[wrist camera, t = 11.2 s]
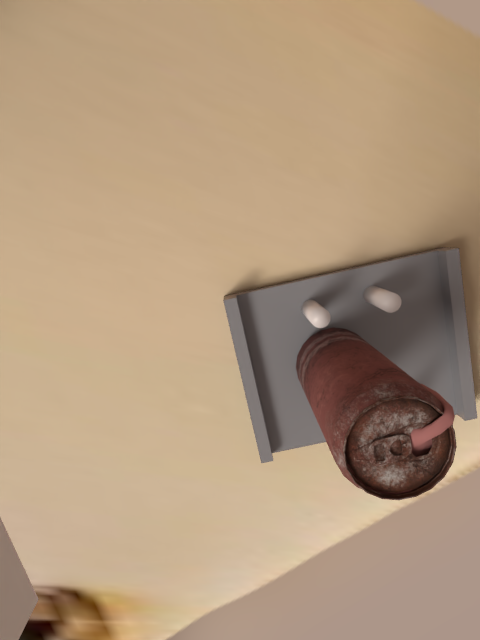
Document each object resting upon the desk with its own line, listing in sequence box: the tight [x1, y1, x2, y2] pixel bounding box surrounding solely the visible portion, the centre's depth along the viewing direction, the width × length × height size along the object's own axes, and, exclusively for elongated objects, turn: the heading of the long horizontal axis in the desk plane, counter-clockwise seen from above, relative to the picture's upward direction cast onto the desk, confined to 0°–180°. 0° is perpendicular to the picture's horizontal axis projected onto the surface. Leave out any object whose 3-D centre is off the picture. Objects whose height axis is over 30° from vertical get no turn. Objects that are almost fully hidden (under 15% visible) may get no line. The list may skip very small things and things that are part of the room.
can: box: [296, 328, 456, 500], centre depth 26 cm, size 6×6×14 cm
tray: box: [223, 247, 477, 463], centre depth 31 cm, size 14×18×5 cm
